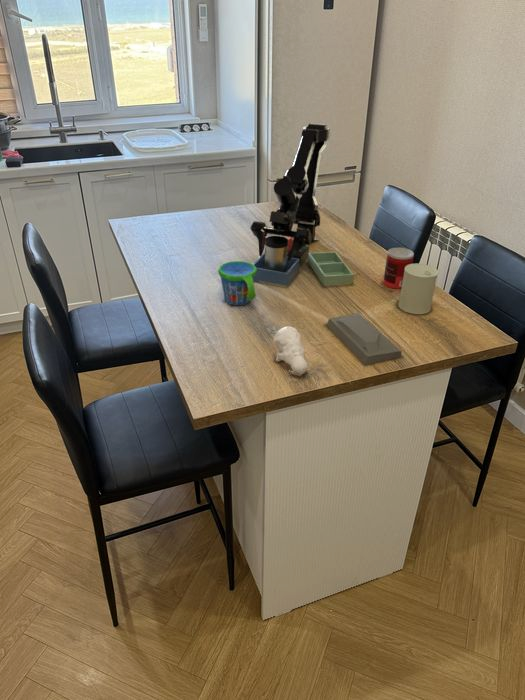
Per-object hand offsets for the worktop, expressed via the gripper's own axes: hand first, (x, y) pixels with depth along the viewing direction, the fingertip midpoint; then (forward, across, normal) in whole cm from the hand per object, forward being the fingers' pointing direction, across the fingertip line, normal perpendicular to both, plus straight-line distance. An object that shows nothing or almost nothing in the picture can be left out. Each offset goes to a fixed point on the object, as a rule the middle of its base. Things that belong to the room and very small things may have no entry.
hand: (274, 258), depth 168 cm
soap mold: (+23, +34, -14) cm, 43 cm away
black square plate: (-8, 0, +17) cm, 19 cm away
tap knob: (-10, 0, +15) cm, 18 cm away
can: (+6, +44, +4) cm, 44 cm away
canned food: (-2, +36, +12) cm, 38 cm away
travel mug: (+3, 0, +5) cm, 6 cm away
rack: (-2, +15, +12) cm, 20 cm away
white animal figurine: (+36, +20, -26) cm, 49 cm away
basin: (+4, 0, +6) cm, 7 cm away
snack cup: (+18, -4, -8) cm, 20 cm away
